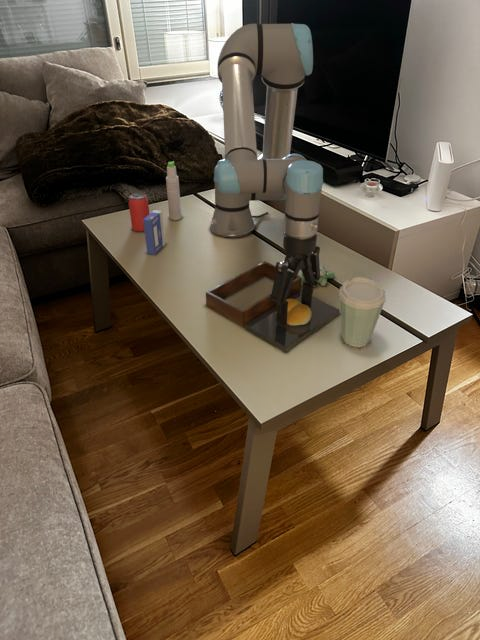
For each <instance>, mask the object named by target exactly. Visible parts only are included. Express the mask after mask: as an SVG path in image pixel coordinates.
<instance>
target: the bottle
mask: <svg viewBox="0 0 480 640" xmlns="http://www.w3.org/2000/svg"><path fill="white" fill-rule="evenodd" d="M166 173H167V174H166V177H165V182H166V183H165V184H166V193H167V206H168V215H169V219H170V220H172V221H177V220H180V219H182V207H181V205H182V204H181V194H180V193H181V191H180V180H179V176H178V175H177V167H176V165H175V161H174V160H173V161H168V162H167V166H166Z"/></svg>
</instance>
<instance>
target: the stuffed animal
mask: <svg viewBox="0 0 480 640" xmlns="http://www.w3.org/2000/svg"><path fill="white" fill-rule="evenodd" d="M297 276H299V277H301V278H302V282H301V287H303V283H304V282H305V283H307V282H306V281H305V279H304V276H303V273H302V272H301V273H300V274H298V275H297ZM335 277H336V274H335V271H332V272H328V270H327V269H326V267H325V266H323V265H320V279H319V280H316V282H318V284H320V286H321V287H325V286H327V284H328V279H331V280H333V279H334V278H335ZM316 287H317V286H314V287H313V288H316Z"/></svg>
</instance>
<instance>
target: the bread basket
mask: <svg viewBox="0 0 480 640" xmlns="http://www.w3.org/2000/svg"><path fill="white" fill-rule="evenodd" d="M275 274H276V264H273V263H270V262H269V261H266V260H264V261H262V262H261V263H259V264H257V265H255V266H253V267H251V268H249V269H247V270H245V271H243V272H241V273H240V274H238V275H235V276H234V277H231V278H229V279H228V280H226V281H224V282H223V283H221V284H219V285H216V286H214V287H212V288H211V289H209V290H207V291H205V306H206V308H209V309H210V310H212V311H214V312H216V313H217V314H219V315H221V316H223V317H224V318H226V319H228V320H229V321H232V322H234V323H235V324H236V325H238V326H240V327H241V328H243V327H246V324H248V323H249V322H251V321H253V320H254V319H256V318H257V317H259V316H261V315H262V314H264V313H266V312H267V311H269V310H271V309H272V308H274V307H275V306H276V303H275V302H273V301H271V300H270V297H271V293H270V294H268V295H266V296H264V297H263V298H261V299H259V300H257V301H256V302H254V303H252V304H250V305H249V306H247V307H245V308H244V309H242V308H240V307H238V306H236V305H235V304H232V303H230V302H229V301H227V300H225V299H226V298H228V297H230V296H231V295H233V294H235V293H238V292H239V291H241V290H243V289H245V288H246V287H248V286H249V285H252V284H254V283H256V282H257V281H259V280H261V279H263V278H265V277H266V278H267V279H270V280H272V281H274V278H275ZM299 276H300V275H299ZM299 276H297V277H295V278H294V280H293V283H292V286H291V288H290V291H289V294H288V297H287V299H288V298H290V297H292V296H293V295H295V294H297V293H298V292H300V291H302V286H301V282H302V278H301V277H299ZM287 299H286V300H287Z"/></svg>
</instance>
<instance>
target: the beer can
mask: <svg viewBox="0 0 480 640" xmlns="http://www.w3.org/2000/svg"><path fill="white" fill-rule="evenodd" d="M147 197H148V196H147V194H146V193H144V192H133V193H131V194H129V196H128V209H129V216H130V222H131V223H130V224H131V229H132V230H133V231H135V232H138V233H139V232H140V233H142V232H145V231H144V223H143V219H144V218H146V217H147V216H148V215H149V214H150V213H151V212H150V206H149V200H148V198H147Z"/></svg>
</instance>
